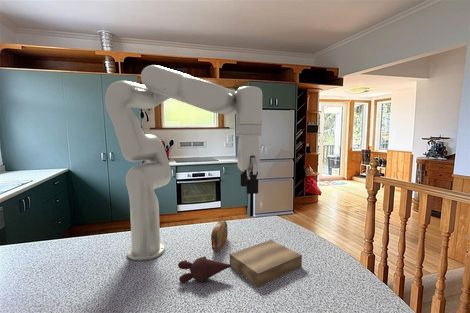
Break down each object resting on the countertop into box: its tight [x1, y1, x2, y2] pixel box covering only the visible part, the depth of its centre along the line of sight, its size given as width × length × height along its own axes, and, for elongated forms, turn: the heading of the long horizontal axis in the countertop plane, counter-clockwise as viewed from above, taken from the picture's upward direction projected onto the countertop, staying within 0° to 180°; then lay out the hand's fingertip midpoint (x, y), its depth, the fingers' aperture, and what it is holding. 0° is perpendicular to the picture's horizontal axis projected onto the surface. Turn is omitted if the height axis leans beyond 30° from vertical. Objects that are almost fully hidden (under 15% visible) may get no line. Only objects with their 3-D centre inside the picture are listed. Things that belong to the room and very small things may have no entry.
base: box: [229, 239, 303, 288], centre depth 80 cm, size 14×18×4 cm
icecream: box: [177, 256, 231, 283], centre depth 73 cm, size 7×7×15 cm
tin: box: [210, 220, 229, 252], centre depth 95 cm, size 15×3×8 cm, turn 168°
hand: (248, 189), depth 74 cm, fingers open, 9 cm apart
